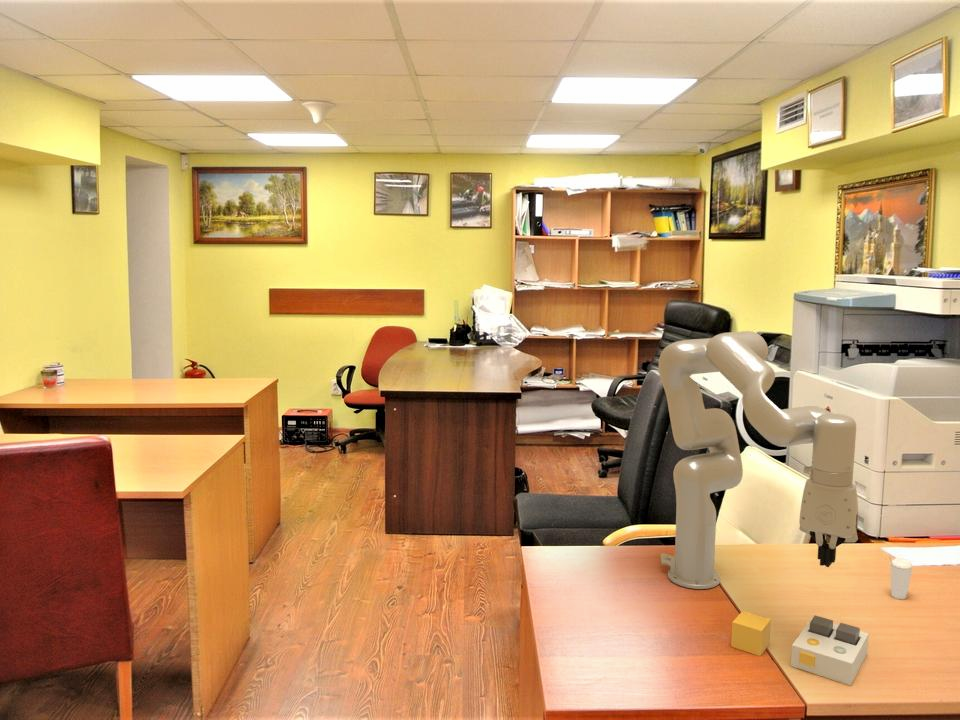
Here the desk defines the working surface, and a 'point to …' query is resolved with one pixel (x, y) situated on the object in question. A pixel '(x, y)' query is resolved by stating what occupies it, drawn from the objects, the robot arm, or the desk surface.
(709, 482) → the robot arm
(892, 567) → the milkshake
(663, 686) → the desk surface
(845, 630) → the block
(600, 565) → the desk surface
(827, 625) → the button
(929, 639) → the desk surface
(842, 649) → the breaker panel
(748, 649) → the cap
